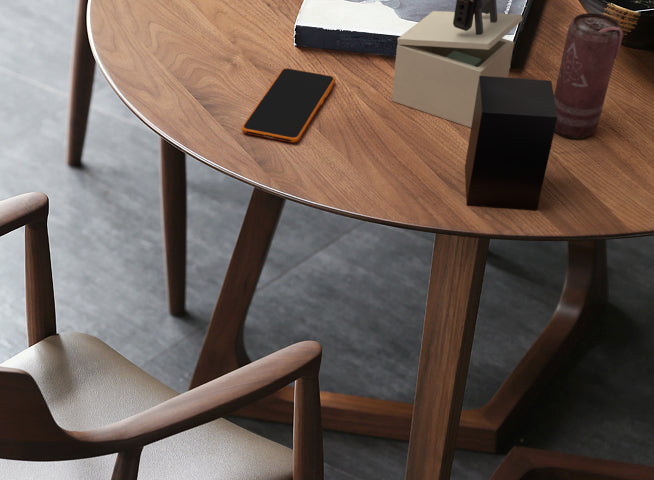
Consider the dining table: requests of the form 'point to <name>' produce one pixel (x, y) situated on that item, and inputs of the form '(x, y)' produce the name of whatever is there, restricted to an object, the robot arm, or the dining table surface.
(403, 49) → the beige box
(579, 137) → the can
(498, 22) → the lid
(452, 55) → the mint green block
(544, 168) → the stand
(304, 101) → the smartphone
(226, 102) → the dining table surface
